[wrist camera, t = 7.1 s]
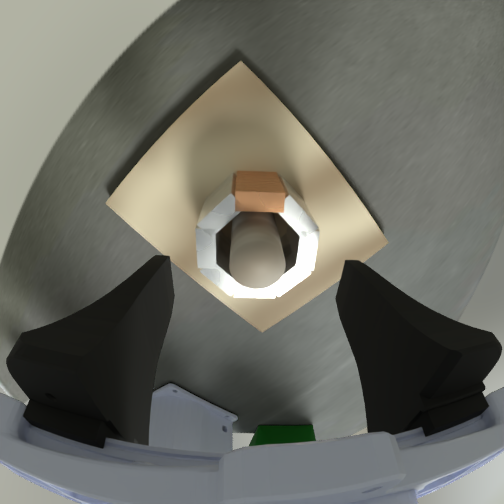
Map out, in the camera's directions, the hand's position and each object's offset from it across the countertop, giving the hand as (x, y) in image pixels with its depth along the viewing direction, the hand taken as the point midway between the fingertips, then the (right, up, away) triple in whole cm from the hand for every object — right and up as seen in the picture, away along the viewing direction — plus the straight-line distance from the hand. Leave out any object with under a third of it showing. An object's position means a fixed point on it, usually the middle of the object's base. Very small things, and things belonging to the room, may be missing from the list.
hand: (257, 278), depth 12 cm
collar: (0, +3, +5) cm, 6 cm away
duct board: (0, +3, +5) cm, 6 cm away
